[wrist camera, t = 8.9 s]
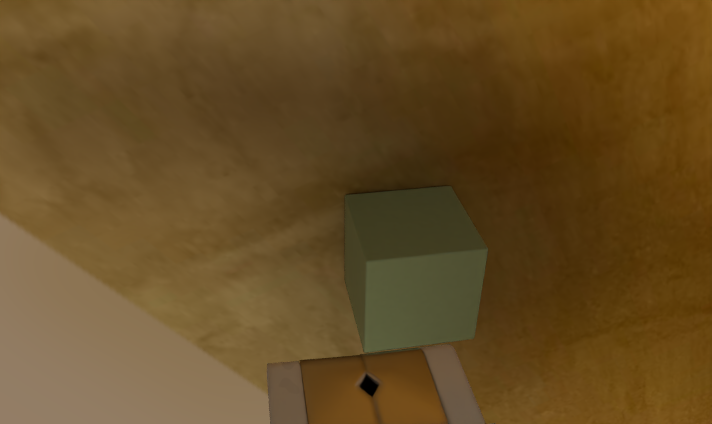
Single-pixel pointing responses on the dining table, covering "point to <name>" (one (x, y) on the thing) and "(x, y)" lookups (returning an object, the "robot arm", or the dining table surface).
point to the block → (412, 267)
